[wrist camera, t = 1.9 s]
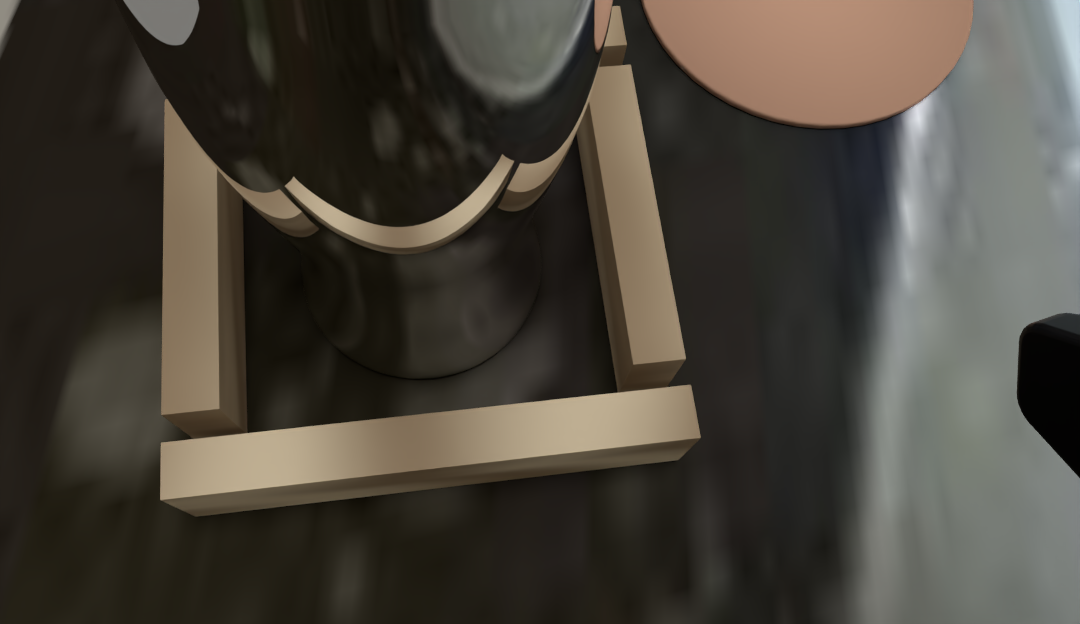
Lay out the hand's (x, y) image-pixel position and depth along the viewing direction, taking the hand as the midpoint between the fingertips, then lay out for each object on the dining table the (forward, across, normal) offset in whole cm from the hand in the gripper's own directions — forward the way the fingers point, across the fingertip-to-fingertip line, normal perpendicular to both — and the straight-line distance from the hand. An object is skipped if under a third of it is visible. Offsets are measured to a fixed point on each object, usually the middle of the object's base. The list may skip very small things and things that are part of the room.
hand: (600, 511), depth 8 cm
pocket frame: (+16, 0, +4) cm, 16 cm away
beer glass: (+16, 0, +4) cm, 16 cm away
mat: (+19, -14, 0) cm, 24 cm away
